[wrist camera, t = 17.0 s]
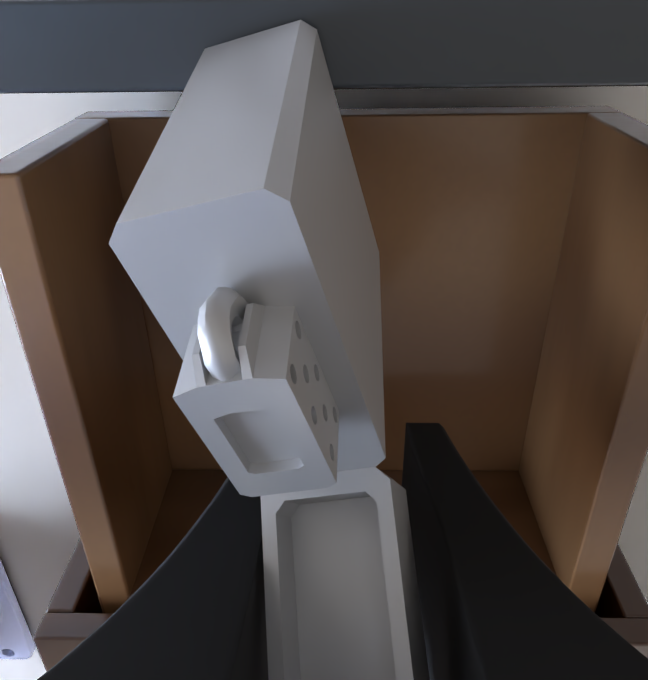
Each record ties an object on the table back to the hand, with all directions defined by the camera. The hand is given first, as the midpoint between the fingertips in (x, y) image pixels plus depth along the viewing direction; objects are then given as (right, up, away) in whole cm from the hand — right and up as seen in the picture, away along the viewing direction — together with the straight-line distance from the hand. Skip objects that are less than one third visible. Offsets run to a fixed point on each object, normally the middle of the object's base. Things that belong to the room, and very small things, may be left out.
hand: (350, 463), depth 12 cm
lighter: (0, +4, -1) cm, 4 cm away
